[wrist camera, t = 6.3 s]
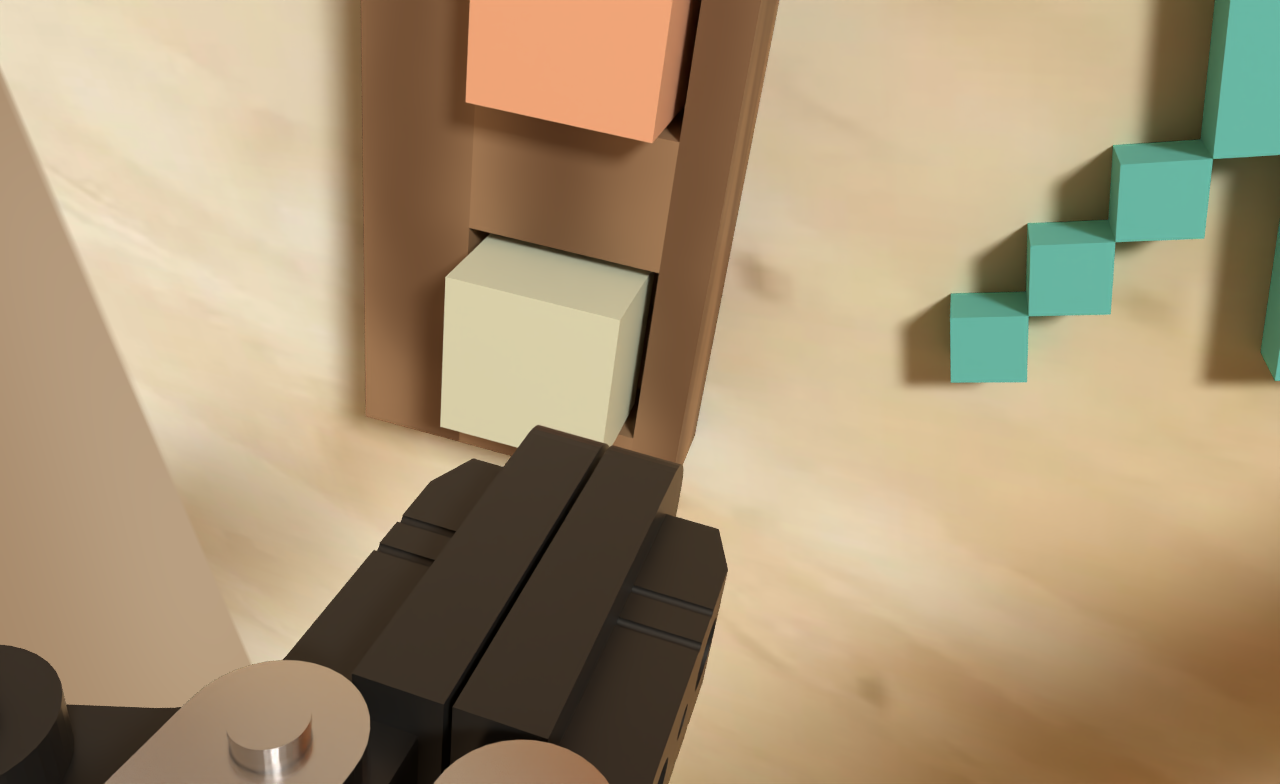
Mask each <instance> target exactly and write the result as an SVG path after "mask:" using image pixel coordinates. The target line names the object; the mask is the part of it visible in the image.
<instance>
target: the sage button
mask: <svg viewBox="0 0 1280 784" xmlns="http://www.w3.org/2000/svg"><path fill="white" fill-rule="evenodd" d="M654 273H655V272H652V271H648V270H643V269H639V268H635V267H631V266H627V265H622V264H618V263H614V262H610V261H606V260H602V259H597V258H593V257H589V256H585V255H581V254H577V253H572V252H568V251H564V250H560V249H556V248H551V247H547V246H543V245H539V244H535V243H531V242H526V241H522V240H518V239H514V238H510V237H506V236H501V235H497V234H493V233H490V234H489V235H488V236H487V237H486V238H485V239H484V240H483V241H482V242H481V243H480V244H479V245H478V246H477V247H476V248H475V249H474V250H473V251H472V252H471V253H470V254H469V255H468V256H467V257H466V258H465V259H464V260H462V261H461V262H460V263H459V264H458V265H457V266H456V267H455V268H454V269H453V270H452V271H451V272H450V273H449V274H448V275H447V276H446V277H445V305H444V334H443V363H442V391H441V420H440V427H444V428H447V429H451V430H455V431H458V432H462V433H466V434H469V435H473V436H477V437H480V438H484V439H488V440H491V441H495V442H499V443H502V444H506V445H510V446H513V447H517V448H518V447H519V445H520V444H521V443H522V441H523V440H524V439H525V437H526V436H527V435H528V433H529V432H530V431H531V430H532V428H534V427H535V426H536V425H541V426H545V427H548V428H552V429H556V430H559V431H563V432H566V433H570V434H573V435H577V436H581V437H584V438H588V439H591V440H595V441H598V442H602V443H606V444H608V445H609V447H610V446H612V445H613V443H614V441H615V440H616V438H617V436H618V434H619V432H620V430H621V428H622V426H623V424H624V423H625V421H626V419H627V417H628V415H629V413H630V411H631V409H632V407H633V405H634V403H635V397H636V390H637V384H638V377H639V371H640V364H641V358H642V351H643V345H644V338H645V332H646V325H647V318H648V312H649V305H650V299H651V292H652V286H653V279H654Z"/></svg>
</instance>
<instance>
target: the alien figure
mask: <svg viewBox="0 0 1280 784" xmlns="http://www.w3.org/2000/svg"><path fill="white" fill-rule="evenodd" d="M1270 155H1280V0H1215V4H1214V13H1213V23H1212V33H1211V42H1210V52H1209V62H1208V71H1207V81H1206V91H1205V101H1204V110H1203V120H1202V130H1201V139H1199V140H1184V141H1169V142H1154V143H1139V144H1124V145H1113V153H1112V169H1111V185H1110V200H1109V216H1108V220H1090V221H1068V222H1047V223H1028V224H1027V263H1026V291H1023V292H988V293H954V294H951V304H950V354H951V383H961V382H1027V357H1028V320H1029V316H1061V315H1105V314H1111V301H1112V286H1113V271H1114V256H1115V242H1132V241H1156V240H1181V239H1204V237H1205V228H1206V218H1207V209H1208V200H1209V191H1210V182H1211V173H1212V164H1213V159H1221V158H1238V157H1254V156H1270ZM1261 354H1262V356H1263V358H1264V360H1265V362H1266V364H1267V366H1268V368H1269V370H1270V372H1271V374H1272V376H1273V378H1274V380H1275V381H1280V220H1279V227H1278V234H1277V241H1276V248H1275V255H1274V262H1273V269H1272V276H1271V283H1270V290H1269V297H1268V304H1267V311H1266V318H1265V324H1264V331H1263V338H1262V345H1261Z"/></svg>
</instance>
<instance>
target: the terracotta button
mask: <svg viewBox="0 0 1280 784" xmlns="http://www.w3.org/2000/svg"><path fill="white" fill-rule="evenodd" d="M701 1H702V0H470V8H469V32H468V56H467V80H466V102H467V103H471V104H476V105H480V106H485V107H489V108H494V109H498V110H503V111H508V112H512V113H517V114H521V115H526V116H530V117H535V118H539V119H544V120H548V121H553V122H558V123H562V124H567V125H571V126H576V127H580V128H585V129H589V130H594V131H598V132H603V133H608V134H612V135H617V136H621V137H626V138H630V139H635V140H639V141H644V142H648V143H653V142H654V141H655V140H656V138H657V137H658V136H659V135H660V134H661V132H662V131H663V130H664V129H665V128H666V127H667V125H668V124H669V123H670V122H671V121H672V119H673V118H674V117H675V116H676V115H677V114H678V112H679V111H680V110H681V109H682V108H683V107H684V105H685V104H686V97H687V91H688V85H689V78H690V72H691V65H692V59H693V53H694V46H695V40H696V33H697V27H698V21H699V14H700V8H701Z"/></svg>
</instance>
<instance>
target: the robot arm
mask: <svg viewBox="0 0 1280 784" xmlns="http://www.w3.org/2000/svg"><path fill="white" fill-rule="evenodd" d="M682 480H683V465H682V464H678V463H675V462H671V461H667V460H664V459H660V458H657V457H653V456H650V455H646V454H642V453H639V452H635V451H632V450H628V449H625V448H621V447H617V446H614V445H612V446H610V447H609V445H608V444H606V443H602V442H598V441H595V440H591V439H588V438H584V437H581V436H577V435H573V434H570V433H566V432H563V431H559V430H556V429H552V428H548V427H545V426H541V425H536V426H535V427H534V428H532V430H531V431H530V432H529V433H528V435H527V436H526V437H525V439H524V440H523V441H522V443H521V444H520V445H519V447H518V448H517V449H516V451H515V452H514V454H513V455H512V456H511V458H510V459H509V460H508V462H507V463H506V464H505V466H504V467H501V466H498V465H494V464H491V463H487V462H484V461H480V460H477V459H471V460H470V461H468V462H466V463H464V464H462V465H460V466H458V467H457V468H455V469H453V470H451V471H449V472H447V473H445V474H444V475H442V476H440V477H438V478H436V479H434V480H432V481H431V482H430V483H429V484H428V485H427V486H426V487H425V489H424V490H423V491H422V492H421V494H420V495H419V496H418V497H417V498H416V500H415V501H414V502H413V503H412V504H411V506H410V507H409V508H408V509H407V510H406V512H405V513H404V514H403V517H402V520H401V522H397V523H396V524H395V525H394V526H393V527H392V529H391V530H390V531H389V532H388V533H387V535H386V536H385V537H384V538H383V540H382V541H381V542H380V545H379V548H378V550H377V551H375V550H373V552H372V553H371V554H370V555H369V556H368V558H367V559H366V560H365V561H364V563H363V564H362V565H361V566H360V567H359V569H358V570H357V571H356V572H355V573H354V575H353V576H352V577H351V578H350V580H349V581H348V582H347V583H346V584H345V586H344V587H343V588H342V589H341V590H340V592H339V593H338V594H337V595H336V596H335V598H334V599H333V600H332V601H331V603H330V604H329V605H328V606H327V607H326V609H325V610H324V611H323V612H322V613H321V615H320V616H319V617H318V618H317V619H316V621H315V622H314V623H313V624H312V626H311V627H310V628H309V629H308V630H307V632H306V633H305V634H304V635H303V636H302V638H301V639H300V640H299V641H298V642H297V644H296V645H295V646H294V647H293V649H292V650H291V651H290V652H289V653H288V655H287V656H286V657H285V658H284V659H283V660H278V661H267V662H262V663H257V664H252V665H248V666H245V667H243V668H240V669H237V670H234V671H232V672H229V673H227V674H225V675H223V676H221V677H219V678H218V679H216V680H214V681H213V682H211V683H209V684H208V685H206V686H205V687H203V688H202V689H201V690H200V691H199V692H197V693H196V694H195V695H194V696H193V697H192V698H191V699H190V700H189V701H187V703H186V704H184V705H183V706H182V707H177V708H139V707H113V706H112V707H111V706H90V705H89V706H88V705H66V702H65V698H64V693H63V689H62V685H61V681H60V679H59V677H58V675H57V673H56V671H55V670H54V669H53V667H52V666H51V665H50V664H49V663H48V662H47V661H46V660H44V659H43V658H41V657H40V656H38V655H37V654H35V653H32V652H30V651H27V650H25V649H21V648H17V647H13V646H6V645H0V784H668V783H669V780H670V777H671V774H672V771H673V768H674V765H675V761H676V759H677V757H678V754H679V751H680V748H681V745H682V742H683V739H684V736H685V733H686V729H687V726H688V724H689V721H690V718H691V715H692V712H693V709H694V706H695V703H696V700H697V697H698V694H699V691H700V688H701V685H702V682H703V678H704V674H705V669H706V665H707V660H708V656H709V651H710V647H711V643H712V638H713V634H714V629H715V625H716V620H717V616H718V611H719V607H720V603H721V598H722V594H723V589H724V585H725V580H726V576H727V572H728V568H727V563H726V559H725V555H724V550H723V546H722V541H721V537H720V533H719V529H716V528H713V527H709V526H706V525H702V524H699V523H695V522H692V521H689V520H685V519H682V518H678V517H676V513H677V508H678V502H679V497H680V491H681V486H682Z"/></svg>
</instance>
